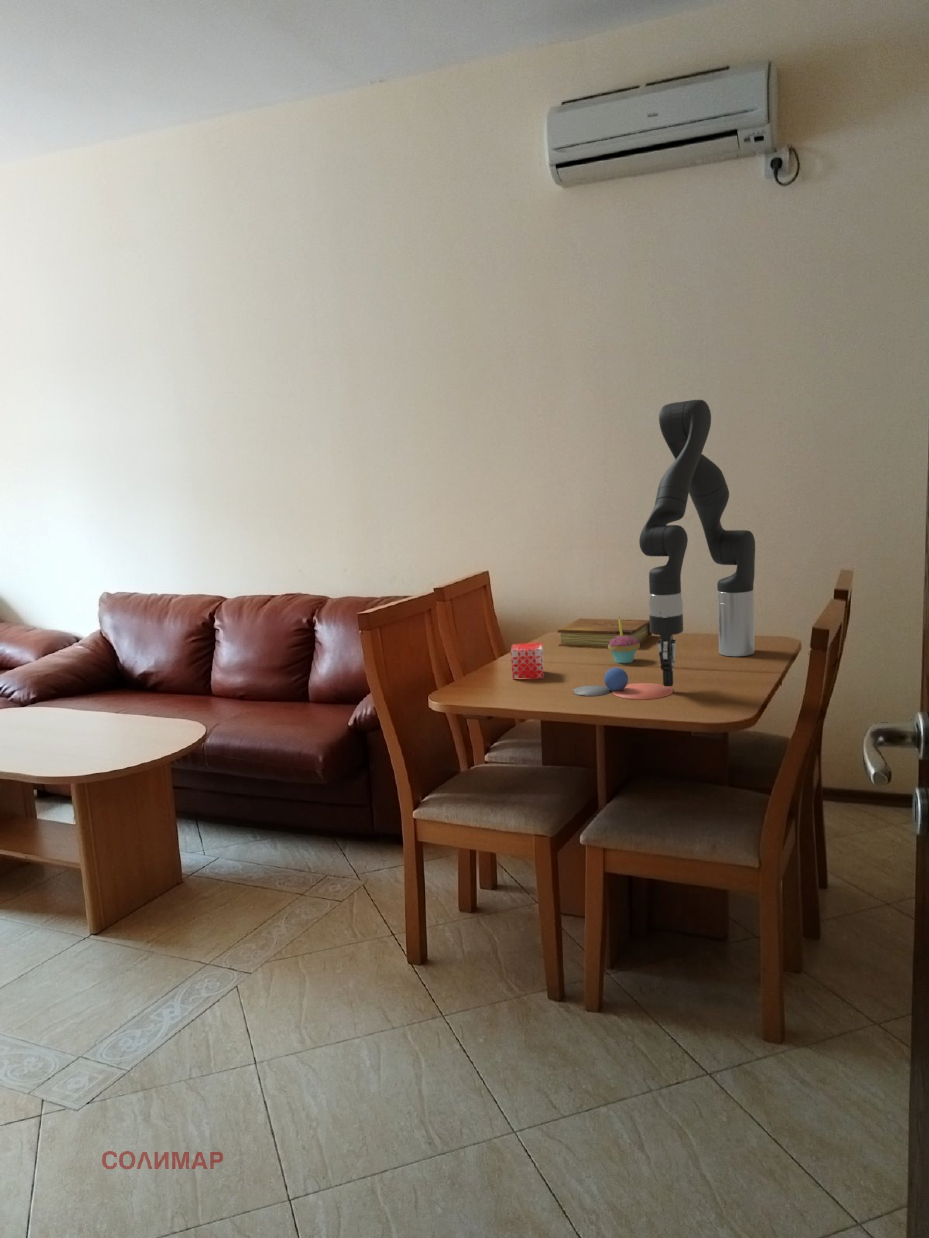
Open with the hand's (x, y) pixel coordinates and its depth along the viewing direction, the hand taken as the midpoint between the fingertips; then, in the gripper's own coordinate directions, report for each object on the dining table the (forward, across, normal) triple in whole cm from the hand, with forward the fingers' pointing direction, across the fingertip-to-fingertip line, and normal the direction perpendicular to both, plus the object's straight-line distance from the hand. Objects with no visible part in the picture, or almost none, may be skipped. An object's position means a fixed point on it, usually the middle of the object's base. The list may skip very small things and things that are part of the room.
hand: (668, 685), depth 203 cm
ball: (-1, -1, -12) cm, 12 cm away
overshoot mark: (+2, 0, -18) cm, 18 cm away
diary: (+2, -58, -23) cm, 62 cm away
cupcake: (+2, -31, -14) cm, 34 cm away
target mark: (+2, 0, -6) cm, 6 cm away
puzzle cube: (+2, -15, -37) cm, 40 cm away
